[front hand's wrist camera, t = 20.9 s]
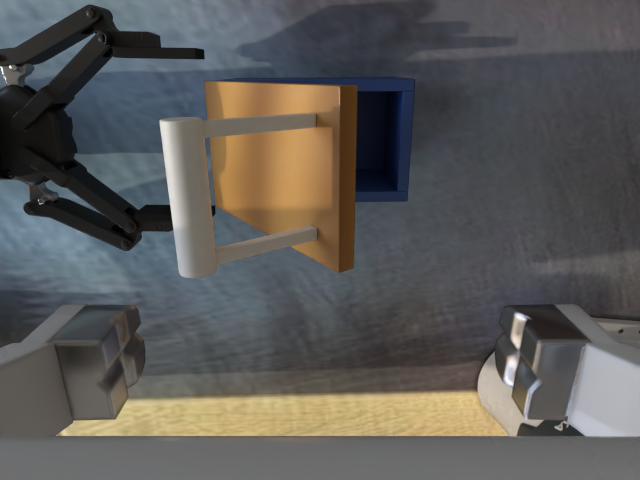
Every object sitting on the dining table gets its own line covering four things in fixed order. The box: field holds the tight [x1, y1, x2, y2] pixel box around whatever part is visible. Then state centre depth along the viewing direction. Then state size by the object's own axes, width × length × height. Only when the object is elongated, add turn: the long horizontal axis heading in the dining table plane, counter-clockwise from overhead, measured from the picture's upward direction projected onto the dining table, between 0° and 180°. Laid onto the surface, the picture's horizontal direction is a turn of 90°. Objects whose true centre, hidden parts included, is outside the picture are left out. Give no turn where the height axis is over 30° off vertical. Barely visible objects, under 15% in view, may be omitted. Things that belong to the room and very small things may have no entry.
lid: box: [159, 81, 357, 278], centre depth 27 cm, size 16×10×9 cm
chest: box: [215, 77, 415, 202], centre depth 40 cm, size 15×10×10 cm, turn 90°
